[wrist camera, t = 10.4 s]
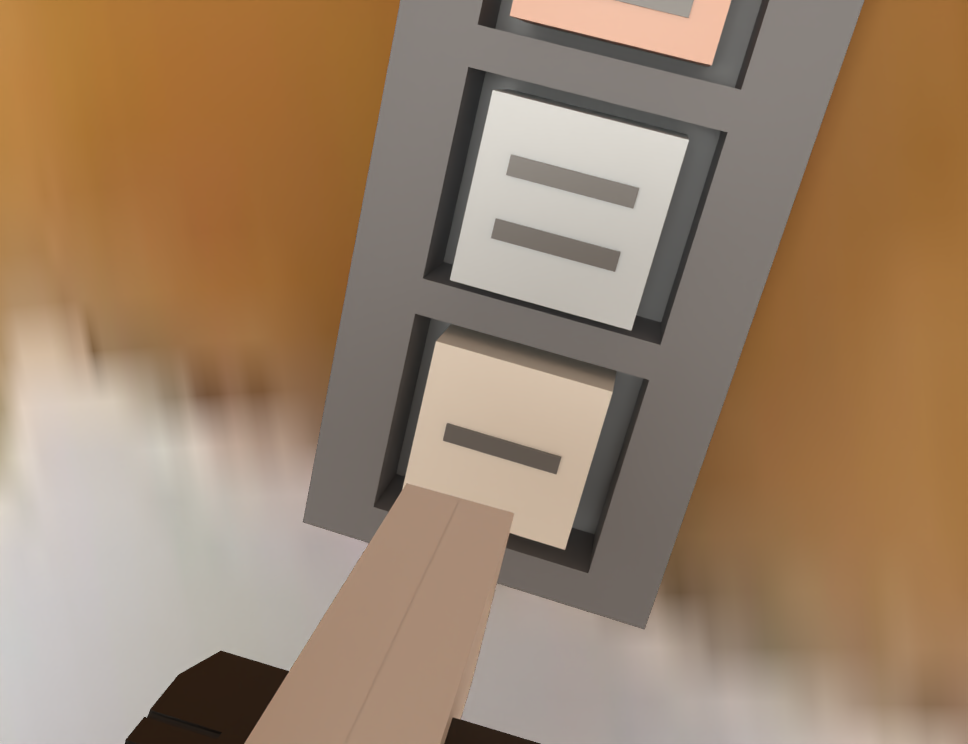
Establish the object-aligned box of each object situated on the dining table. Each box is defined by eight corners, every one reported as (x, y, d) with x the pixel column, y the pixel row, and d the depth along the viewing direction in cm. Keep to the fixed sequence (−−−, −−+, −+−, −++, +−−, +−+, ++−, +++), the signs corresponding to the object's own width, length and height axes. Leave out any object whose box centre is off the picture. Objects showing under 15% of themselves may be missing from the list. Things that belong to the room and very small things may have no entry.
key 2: (469, 262, 26) (448, 280, 23) (509, 88, 24) (491, 90, 22) (634, 307, 25) (631, 331, 23) (687, 134, 24) (689, 140, 21)
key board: (336, 471, 31) (295, 519, 27) (484, -284, 23) (453, -346, 20) (654, 569, 30) (653, 631, 26) (917, -193, 22) (962, -242, 19)
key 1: (422, 464, 28) (398, 500, 26) (456, 318, 26) (434, 342, 24) (573, 510, 28) (564, 551, 25) (617, 363, 26) (612, 393, 23)
